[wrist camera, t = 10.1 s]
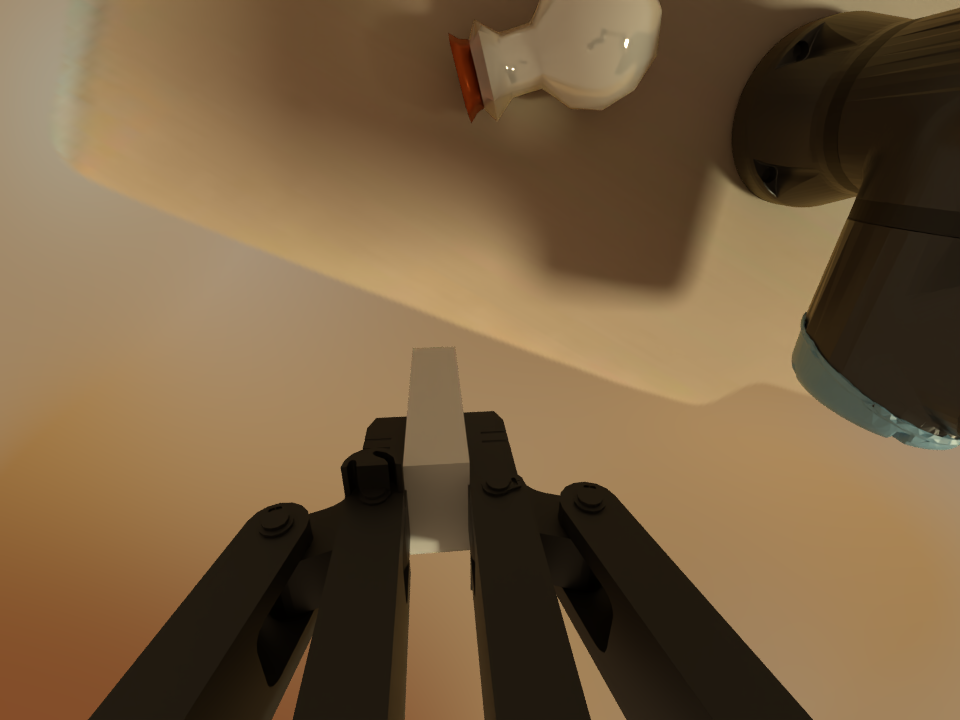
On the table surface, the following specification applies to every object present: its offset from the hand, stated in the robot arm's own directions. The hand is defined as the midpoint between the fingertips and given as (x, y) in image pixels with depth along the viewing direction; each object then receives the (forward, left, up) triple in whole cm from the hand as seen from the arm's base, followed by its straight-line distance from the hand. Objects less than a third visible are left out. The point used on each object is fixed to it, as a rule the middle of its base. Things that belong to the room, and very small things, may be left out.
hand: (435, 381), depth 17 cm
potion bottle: (-10, -14, -29) cm, 34 cm away
